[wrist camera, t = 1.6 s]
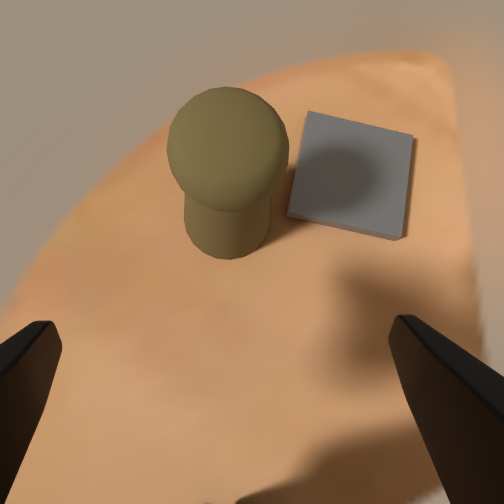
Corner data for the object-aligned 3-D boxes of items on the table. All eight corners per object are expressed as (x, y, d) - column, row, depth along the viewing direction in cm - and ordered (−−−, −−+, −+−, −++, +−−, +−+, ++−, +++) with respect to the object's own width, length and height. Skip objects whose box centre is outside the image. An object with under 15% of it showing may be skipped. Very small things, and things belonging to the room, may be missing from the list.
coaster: (394, 240, 24) (401, 237, 23) (286, 216, 24) (288, 211, 23) (406, 142, 26) (413, 135, 25) (305, 118, 26) (308, 110, 25)
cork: (279, 189, 24) (321, 83, 14) (259, 269, 23) (288, 222, 12) (197, 167, 24) (175, 43, 13) (173, 246, 23) (126, 179, 12)
